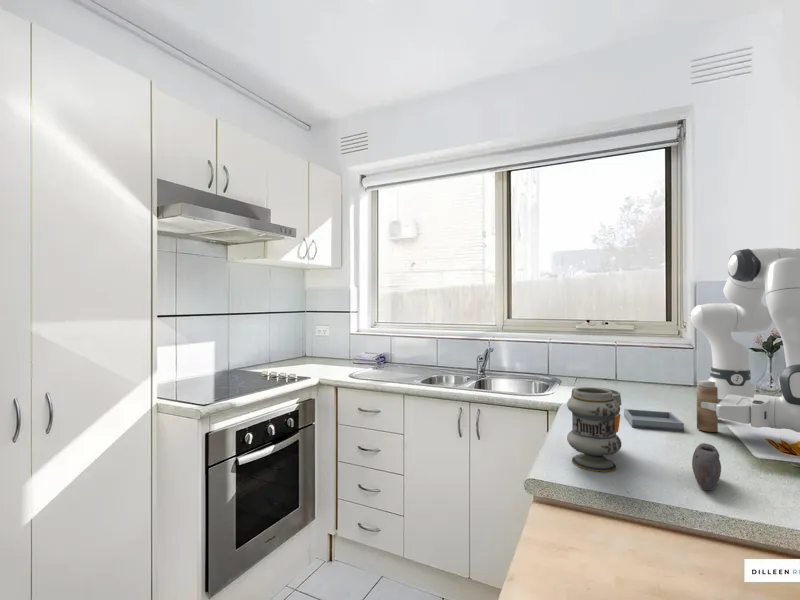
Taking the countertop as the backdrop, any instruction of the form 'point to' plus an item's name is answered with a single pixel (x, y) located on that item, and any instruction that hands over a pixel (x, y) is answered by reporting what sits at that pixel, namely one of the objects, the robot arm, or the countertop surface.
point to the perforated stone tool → (706, 466)
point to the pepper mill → (705, 417)
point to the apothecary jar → (593, 428)
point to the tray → (653, 420)
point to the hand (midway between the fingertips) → (703, 402)
